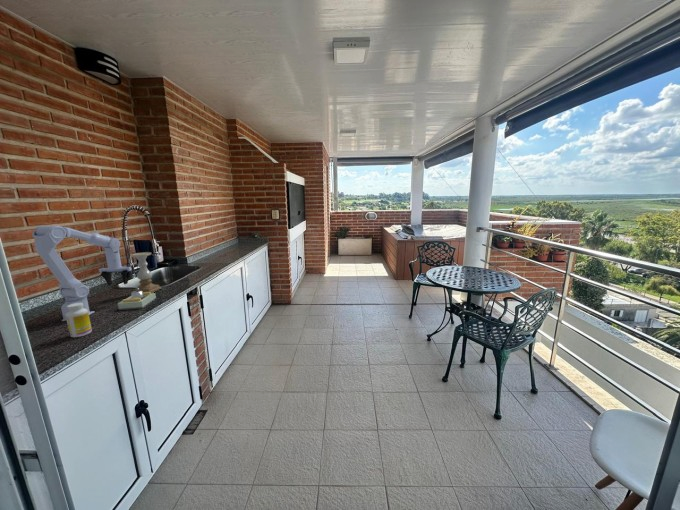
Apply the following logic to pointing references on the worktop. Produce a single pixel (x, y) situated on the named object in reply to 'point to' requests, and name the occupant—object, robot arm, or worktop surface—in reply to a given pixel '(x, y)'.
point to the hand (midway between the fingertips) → (118, 284)
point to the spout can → (137, 294)
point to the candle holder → (144, 274)
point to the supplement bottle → (78, 320)
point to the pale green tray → (137, 302)
